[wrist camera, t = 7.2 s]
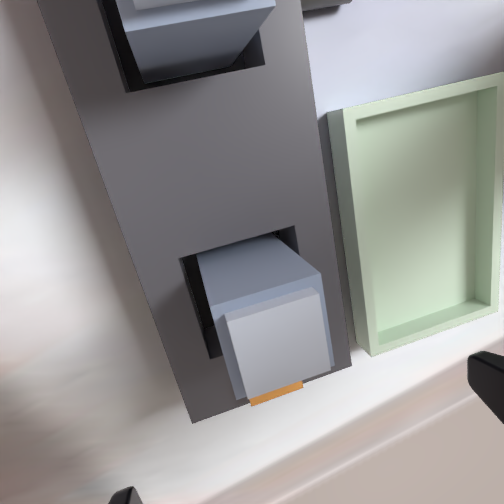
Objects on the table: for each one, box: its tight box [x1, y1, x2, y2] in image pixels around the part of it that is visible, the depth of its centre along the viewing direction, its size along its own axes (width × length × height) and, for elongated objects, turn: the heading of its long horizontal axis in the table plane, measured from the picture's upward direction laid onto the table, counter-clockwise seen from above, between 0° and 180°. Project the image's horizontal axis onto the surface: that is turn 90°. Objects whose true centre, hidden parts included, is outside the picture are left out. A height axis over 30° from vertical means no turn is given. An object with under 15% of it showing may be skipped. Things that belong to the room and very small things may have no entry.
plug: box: [196, 232, 335, 400], centre depth 15 cm, size 4×4×8 cm
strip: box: [37, 0, 352, 424], centre depth 15 cm, size 9×22×4 cm, turn 13°
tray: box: [327, 71, 504, 357], centre depth 19 cm, size 9×14×2 cm, turn 13°
